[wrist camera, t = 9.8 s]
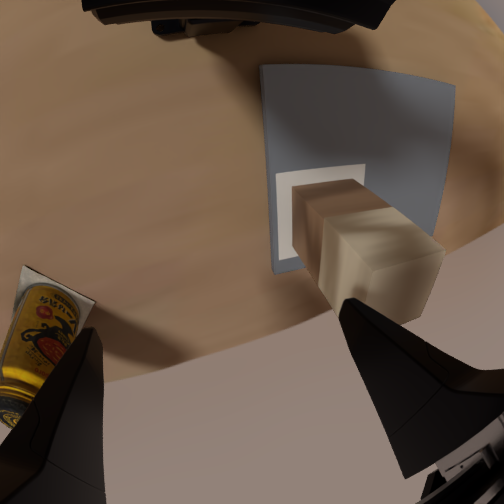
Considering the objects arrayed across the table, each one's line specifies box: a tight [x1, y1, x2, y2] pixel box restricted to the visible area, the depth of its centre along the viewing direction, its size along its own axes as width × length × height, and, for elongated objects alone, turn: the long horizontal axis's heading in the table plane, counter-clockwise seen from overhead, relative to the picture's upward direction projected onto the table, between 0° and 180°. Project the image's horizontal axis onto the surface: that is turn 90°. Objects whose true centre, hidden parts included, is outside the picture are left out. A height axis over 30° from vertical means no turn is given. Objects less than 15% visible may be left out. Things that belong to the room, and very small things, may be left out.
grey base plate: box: [259, 64, 455, 275], centre depth 21 cm, size 16×18×1 cm
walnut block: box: [292, 179, 392, 285], centre depth 20 cm, size 5×5×5 cm
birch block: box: [318, 207, 446, 325], centre depth 16 cm, size 5×5×5 cm
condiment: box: [0, 265, 95, 429], centre depth 17 cm, size 7×8×12 cm
